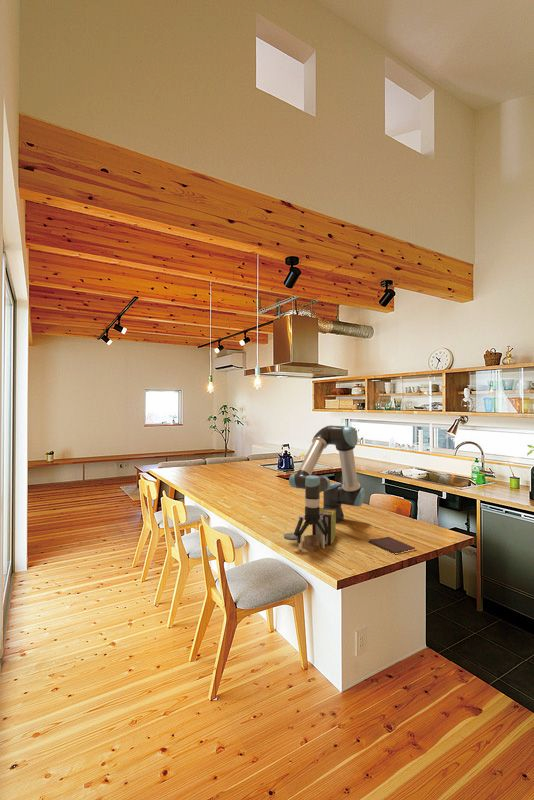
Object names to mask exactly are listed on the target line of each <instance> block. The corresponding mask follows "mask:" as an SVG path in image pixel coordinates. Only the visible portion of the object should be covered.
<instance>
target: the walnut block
mask: <svg viewBox="0 0 534 800" xmlns="http://www.w3.org/2000/svg"><path fill="white" fill-rule="evenodd" d="M303 548H305V550H306V551H308V552H315V551H320V544H319V538H318V537H317V536H316V535H312V534H310V535H303Z"/></svg>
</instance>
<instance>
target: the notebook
mask: <svg viewBox="0 0 534 800" xmlns="http://www.w3.org/2000/svg"><path fill="white" fill-rule="evenodd" d="M368 543H369V544H371V545H374V546H376V547H378V548H380V549H382V550H384V551H386V550H387V551H386V552H388V551H389V552H388V553H390V552H391V553H390V554H392V553H394V554H395V553H401V552H404V551H408V550H412V549H415V548H416V547H414V546H412V545H409V544H407V543H405V542H402V541H400V540H397V539H395V538H393V537H391V536H385V537H379V538H371V539H368ZM394 554H393V555H394ZM401 554H402V553H401ZM395 555H396V554H395Z"/></svg>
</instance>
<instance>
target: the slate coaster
mask: <svg viewBox="0 0 534 800" xmlns="http://www.w3.org/2000/svg"><path fill="white" fill-rule="evenodd" d="M283 538H284V539H285V540H289V541H293V540H294V541H296V540H297V536H295V535H294V532H289V533H288V532H287V533H285V534H283Z"/></svg>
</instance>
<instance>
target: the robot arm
mask: <svg viewBox="0 0 534 800" xmlns="http://www.w3.org/2000/svg"><path fill="white" fill-rule="evenodd" d="M311 442H312V444H311V445H310V447H309V449H308V451H307V453H306V454H305V457H304V459H303V460H302V462H301V464H300V466H299V468H298V470H297V472H296V473H292V474H290V476H289V479H288V484H289V486H290V487H291V488H293V489H294V488H296V489H302V490H304V491H305V493H304V494H305V495H304V505H305V506H304V516H301V515H299V516H298V521H297V524H296V526H295V528H294V532H293V533H294V535H295V536H297V541H296V542H297V543H298V549H299V550H300V551H303V536H302V535H303V534H304V533H305V531H306V530H307V528H308V527H309V526H312V524H314V525H316V524H317V526H318V527H319V529H320V530H321V531H322V533H323V534H321V544H320V547H321V548H322V549H325V546H326V545H325V541H326V535H327V534H329V533H330V531H329V529H328V526H327V523H326V521H325V516H324V515H319V510H320V508H321V507H320V506H321V505H320V503H321V501H320V499H321V497H320V495H321V494H320V493H322V492H323V496H322V497H323V502H322V503H323V505H322V508H327V509H336V523H337V522H342V521H344V520H345V515H344V511H343V508H342V505H346V506H351V507H358V508H359V507H361V506H363V502H364V501H365V495H366V491H365V489H364V488H363V487H361V486H362V485H361V483H360V482H359V481H358V476H357V467H356V461H355V455H354V453H355V452H354V450H355V448H356V446H357V445H358V442H359V441H358V432H357V430H356V429H355V428H354V427H353V426H348V425H326V426H324V427H322V428H321V429H319V430H318V431H317V432H316V433H315V434H314V436H313V437H312V440H311ZM329 445H333V446H335V450H337V451H338V454H339V461H340V467H341V474H342V481H343V483H341V482H336V481H334V482H331V481H330V478H328V477H327V476H323V475H322V476H318V475H314V474H313V471H314V469H315V467H316V466H317V463H318V461H319V459H320V457H321V455H322V453H323V452H324V449H326V448H327V447H328V446H329ZM312 474H313V475H312ZM319 519H321V520H322V523H323V525H324V528H325V530H324V529H323V528H322V526H321V525H320V523H319V521H318V520H319Z"/></svg>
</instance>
